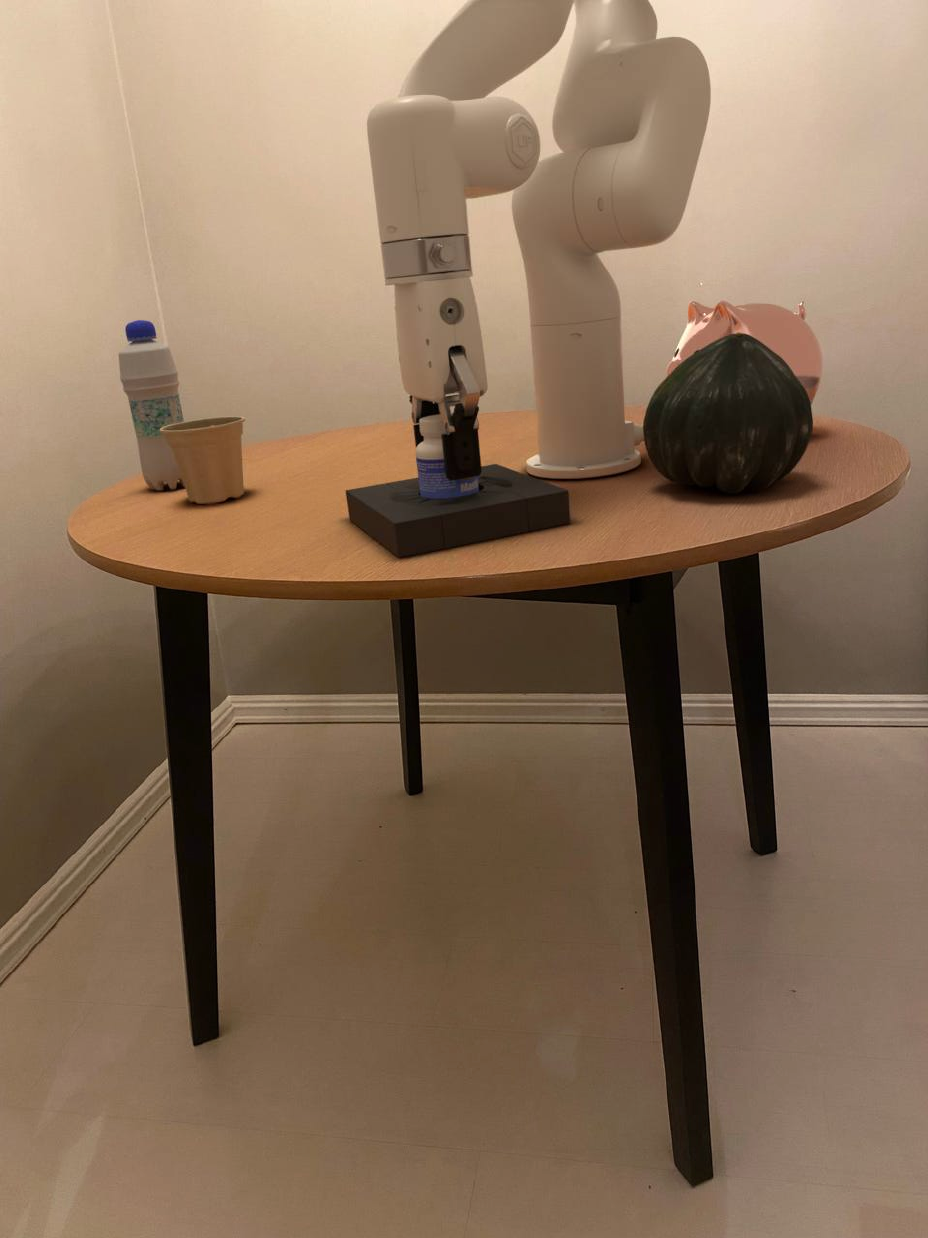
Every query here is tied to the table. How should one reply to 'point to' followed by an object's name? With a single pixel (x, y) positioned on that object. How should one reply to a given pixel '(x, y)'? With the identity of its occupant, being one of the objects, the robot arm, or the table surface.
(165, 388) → the bottle
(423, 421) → the pill bottle
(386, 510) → the pad
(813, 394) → the piggy bank
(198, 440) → the flower pot
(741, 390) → the squash
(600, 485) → the table surface
